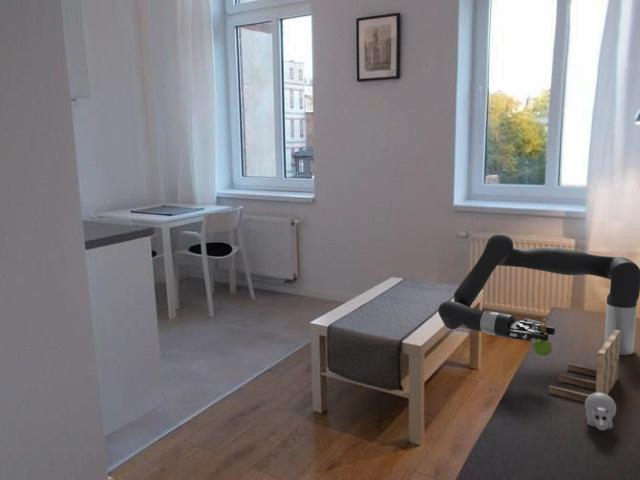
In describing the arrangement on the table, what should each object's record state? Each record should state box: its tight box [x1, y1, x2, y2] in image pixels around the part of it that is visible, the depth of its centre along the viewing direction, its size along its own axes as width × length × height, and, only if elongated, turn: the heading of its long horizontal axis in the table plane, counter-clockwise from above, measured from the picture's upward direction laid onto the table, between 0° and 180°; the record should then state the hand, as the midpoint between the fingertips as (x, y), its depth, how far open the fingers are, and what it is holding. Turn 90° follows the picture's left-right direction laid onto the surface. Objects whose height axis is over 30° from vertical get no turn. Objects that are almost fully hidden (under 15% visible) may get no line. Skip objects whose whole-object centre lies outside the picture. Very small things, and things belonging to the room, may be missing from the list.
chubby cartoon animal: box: [584, 391, 617, 431], centre depth 145 cm, size 8×12×9 cm, turn 153°
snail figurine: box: [532, 314, 553, 357], centre depth 170 cm, size 5×6×12 cm
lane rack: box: [548, 330, 620, 403], centre depth 168 cm, size 22×14×16 cm, turn 141°
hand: (551, 334), depth 169 cm, fingers closed on snail figurine, 5 cm apart
